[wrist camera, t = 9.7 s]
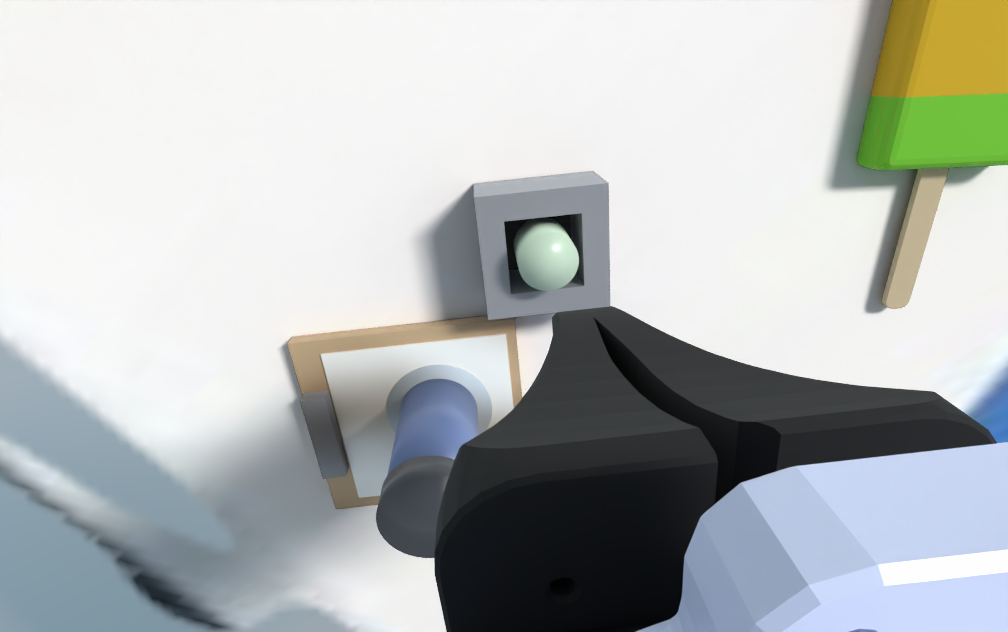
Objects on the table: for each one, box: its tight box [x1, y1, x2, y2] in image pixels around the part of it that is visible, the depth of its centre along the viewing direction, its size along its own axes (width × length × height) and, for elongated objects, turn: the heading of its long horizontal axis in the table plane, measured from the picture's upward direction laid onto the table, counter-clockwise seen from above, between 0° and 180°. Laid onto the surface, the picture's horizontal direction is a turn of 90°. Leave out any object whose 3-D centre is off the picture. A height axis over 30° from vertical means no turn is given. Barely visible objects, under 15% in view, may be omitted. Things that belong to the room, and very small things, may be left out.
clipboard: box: [287, 316, 522, 509], centre depth 23 cm, size 9×9×1 cm
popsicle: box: [857, 0, 1008, 309], centre depth 19 cm, size 6×15×2 cm, turn 2°
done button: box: [514, 218, 579, 291], centre depth 18 cm, size 2×2×2 cm
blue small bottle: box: [376, 379, 478, 558], centre depth 20 cm, size 3×3×6 cm
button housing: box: [474, 171, 610, 320], centre depth 19 cm, size 4×4×2 cm
